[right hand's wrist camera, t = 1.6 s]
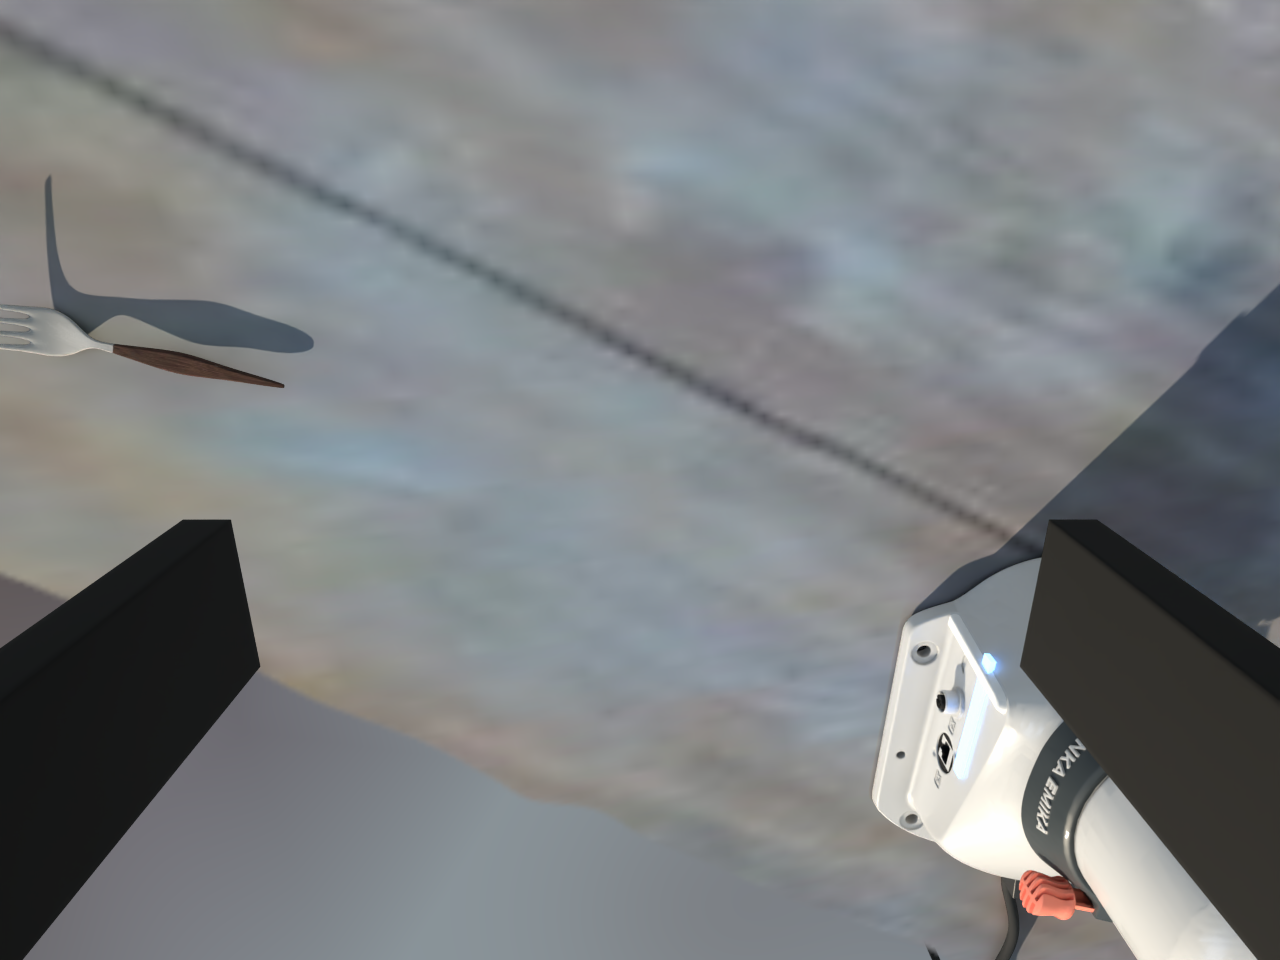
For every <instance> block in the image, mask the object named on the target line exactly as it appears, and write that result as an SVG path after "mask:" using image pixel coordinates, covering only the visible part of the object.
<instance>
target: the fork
mask: <svg viewBox="0 0 1280 960" xmlns="http://www.w3.org/2000/svg"><path fill="white" fill-rule="evenodd" d="M0 310H6V311H13V312H19V313H24V314H27V315H29V318H27V319H14V318H0V323H5V324H13V325H19V326H24V327H27V328H29V329H30V330H29V331H27V332H13V331H0V336H6V337H14V338H20V339H25V340H28V341H30V344H27V345H16V344H0V349H7V350H16V351H23V352H30V353H36V354H42V355H49V356H66V355H71V354H74V353H77V352H80V351H82V350H85V349H89V348H97V349H101V350H105V351H108V352H112V353H115V354H118V355H121V356H124V357H127V358H130V359H132V360H135V361H138V362H141V363H144V364H147V365H150V366H153V367H157V368H160V369H163V370H166V371H170V372H174V373H178V374H183V375H190V376H197V377H205V378H213V379H221V380H229V381H236V382H243V383H250V384H257V385H263V386H271V387H279V388H284V384H281V383H278V382H275V381H272V380H269V379H266V378H263V377H259V376H256V375H253V374H249V373H246V372H242V371H239V370H236V369H233V368H229V367H226V366H223V365H220V364H217V363H214V362H211V361H208V360H205V359H202V358H199V357H195V356H192V355H188V354H185V353H180V352H175V351H168V350H161V349H153V348H145V347H136V346H127V345H119V344H111V343H105V342H100V341H97V340H95V339H93V338H92V337H90V336H89V335H88V334H86V333H85V332H84V331H83V330H82V329H81V328H80V327H79V326H78V325H77V324H76V323H75V322H74V321H73V320H71V319H70V318H69V317H68V316H66V315H64V314H63V313H61V312H59V311H56V310H53V309H49V308H43V307H29V306H15V305H1V304H0Z"/></svg>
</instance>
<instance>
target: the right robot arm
mask: <svg viewBox="0 0 1280 960" xmlns="http://www.w3.org/2000/svg"><path fill="white" fill-rule="evenodd" d="M259 667H260V662H259V657H258V652H257V647H256V642H255V637H254V633H253V628H252V623H251V618H250V613H249V608H248V603H247V598H246V593H245V588H244V583H243V578H242V573H241V568H240V563H239V558H238V553H237V548H236V543H235V538H234V533H233V528H232V523H231V520H182V521H180V522H179V523H178V524H176V525H175V526H173V527H172V528H171V529H169V530H168V531H166V532H165V533H163V534H162V535H161V536H159V537H158V538H156V539H155V540H153V541H152V542H151V543H149V544H148V545H146V546H145V547H144V548H142V549H141V550H139V551H138V552H136V553H135V554H134V555H132V556H131V557H129V558H128V559H126V560H125V561H124V562H122V563H121V564H119V565H118V566H117V567H115V568H114V569H112V570H111V571H109V572H108V573H107V574H105V575H104V576H102V577H101V578H99V579H98V580H97V581H95V582H94V583H92V584H91V585H90V586H88V587H87V588H85V589H84V590H82V591H81V592H80V593H78V594H77V595H75V596H74V597H73V598H71V599H70V600H68V601H67V602H65V603H64V604H63V605H61V606H60V607H58V608H57V609H55V610H54V611H53V612H51V613H50V614H48V615H47V616H46V617H44V618H43V619H41V620H40V621H38V622H37V623H36V624H34V625H33V626H31V627H30V628H29V629H27V630H26V631H24V632H23V633H21V634H20V635H19V636H17V637H16V638H14V639H13V640H11V641H10V642H9V643H7V644H6V645H4V646H3V647H2V648H0V960H23V959H24V957H25V956H26V955H27V954H28V953H29V951H30V950H31V949H32V948H33V946H34V945H35V944H36V943H37V941H38V940H39V939H40V938H41V936H42V935H43V934H44V933H45V932H46V930H47V929H48V928H49V927H50V925H51V924H52V923H53V922H54V920H55V919H56V918H57V917H58V915H59V914H60V913H61V912H62V911H63V909H64V908H65V907H66V906H67V904H68V903H69V902H70V901H71V899H72V898H73V897H74V896H75V894H76V893H77V892H78V891H79V890H80V888H81V887H82V886H83V885H84V883H85V882H86V881H87V880H88V878H89V877H90V876H91V875H92V874H93V872H94V871H95V870H96V869H97V867H98V866H99V865H100V864H101V862H102V861H103V860H104V859H105V857H106V856H107V855H108V854H109V853H110V851H111V850H112V849H113V848H114V846H115V845H116V844H117V843H118V841H119V840H120V839H121V838H122V837H123V835H124V834H125V833H126V832H127V830H128V829H129V828H130V827H131V825H132V824H133V823H134V822H135V820H136V819H137V818H138V817H139V815H140V814H141V813H142V812H143V811H144V809H145V808H146V807H147V806H148V804H149V803H150V802H151V801H152V799H153V798H154V797H155V796H156V795H157V793H158V792H159V791H160V790H161V788H162V787H163V786H164V785H165V783H166V782H167V781H168V780H169V779H170V777H171V776H172V775H173V774H174V772H175V771H176V770H177V769H178V767H179V766H180V765H181V764H182V763H183V761H184V760H185V759H186V758H187V756H188V755H189V754H190V753H191V751H192V750H193V749H194V748H195V746H196V745H197V744H198V743H199V742H200V740H201V739H202V738H203V737H204V735H205V734H206V733H207V732H208V730H209V729H210V728H211V727H212V725H213V724H214V723H215V722H216V720H217V719H218V718H219V717H220V716H221V714H222V713H223V712H224V711H225V709H226V708H227V707H228V706H229V705H230V703H231V702H232V701H233V700H234V698H235V697H236V696H237V695H238V693H239V692H240V691H241V690H242V688H243V687H244V686H245V685H246V684H247V682H248V681H249V680H250V679H251V677H252V676H253V675H254V674H255V672H256V671H257V670H258V669H259ZM1020 667H1021V669H1022V670H1023V671H1024V672H1025V674H1026V675H1027V676H1028V677H1029V679H1030V680H1031V681H1032V682H1033V684H1034V685H1035V686H1036V687H1037V688H1038V690H1039V691H1040V692H1041V693H1042V695H1043V696H1044V697H1045V698H1046V700H1047V701H1048V702H1049V703H1050V705H1051V706H1052V707H1053V708H1054V709H1055V711H1056V712H1057V713H1058V714H1059V716H1060V717H1061V718H1062V719H1063V721H1064V722H1065V723H1066V724H1067V725H1068V727H1069V728H1070V729H1071V730H1072V732H1073V733H1074V734H1075V735H1076V737H1077V738H1078V739H1079V740H1080V742H1081V743H1082V744H1083V745H1084V746H1085V748H1086V749H1087V750H1088V751H1089V753H1090V754H1091V755H1092V756H1093V758H1094V759H1095V760H1096V761H1097V763H1098V764H1099V765H1100V766H1101V767H1102V769H1103V770H1104V771H1105V772H1106V774H1107V775H1108V776H1109V777H1110V779H1111V780H1112V781H1113V782H1114V783H1115V785H1116V786H1117V787H1118V788H1119V790H1120V791H1121V792H1122V793H1123V795H1124V796H1125V797H1126V798H1127V800H1128V801H1129V802H1130V803H1131V804H1132V806H1133V807H1134V808H1135V809H1136V811H1137V812H1138V813H1139V814H1140V816H1141V817H1142V818H1143V819H1144V820H1145V822H1146V823H1147V824H1148V825H1149V827H1150V828H1151V829H1152V830H1153V832H1154V833H1155V834H1156V835H1157V837H1158V838H1159V839H1160V840H1161V841H1162V843H1163V844H1164V845H1165V846H1166V848H1167V849H1168V850H1169V851H1170V853H1171V854H1172V855H1173V856H1174V858H1175V859H1176V860H1177V861H1178V862H1179V864H1180V865H1181V866H1182V867H1183V869H1184V870H1185V871H1186V872H1187V874H1188V875H1189V876H1190V877H1191V878H1192V880H1193V881H1194V882H1195V883H1196V885H1197V886H1198V887H1199V888H1200V890H1201V891H1202V892H1203V893H1204V895H1205V896H1206V897H1207V898H1208V899H1209V901H1210V902H1211V903H1212V904H1213V906H1214V907H1215V908H1216V909H1217V911H1218V912H1219V913H1220V914H1221V915H1222V917H1223V918H1224V919H1225V920H1226V922H1227V923H1228V924H1229V925H1230V927H1231V928H1232V929H1233V930H1234V932H1235V933H1236V934H1237V935H1238V936H1239V938H1240V939H1241V940H1242V941H1243V943H1244V944H1245V945H1246V946H1247V948H1248V949H1249V950H1250V951H1251V953H1252V954H1253V955H1254V956H1255V957H1256V959H1257V960H1280V648H1279V647H1277V646H1276V645H1274V644H1273V643H1271V642H1270V641H1269V640H1267V639H1266V638H1264V637H1263V636H1261V635H1260V634H1259V633H1257V632H1256V631H1254V630H1253V629H1252V628H1250V627H1249V626H1247V625H1246V624H1244V623H1243V622H1242V621H1240V620H1239V619H1237V618H1236V617H1234V616H1233V615H1232V614H1230V613H1229V612H1227V611H1226V610H1225V609H1223V608H1222V607H1220V606H1219V605H1217V604H1216V603H1215V602H1213V601H1212V600H1210V599H1209V598H1207V597H1206V596H1205V595H1203V594H1202V593H1200V592H1199V591H1198V590H1196V589H1195V588H1193V587H1192V586H1190V585H1189V584H1188V583H1186V582H1185V581H1183V580H1182V579H1181V578H1179V577H1178V576H1176V575H1175V574H1173V573H1172V572H1171V571H1169V570H1168V569H1166V568H1165V567H1163V566H1162V565H1161V564H1159V563H1158V562H1156V561H1155V560H1154V559H1152V558H1151V557H1149V556H1148V555H1146V554H1145V553H1144V552H1142V551H1141V550H1139V549H1138V548H1136V547H1135V546H1134V545H1132V544H1131V543H1129V542H1128V541H1127V540H1125V539H1124V538H1122V537H1121V536H1119V535H1118V534H1117V533H1115V532H1114V531H1112V530H1111V529H1109V528H1108V527H1107V526H1105V525H1104V524H1102V523H1101V522H1100V521H1098V520H1049V523H1048V528H1047V533H1046V538H1045V543H1044V548H1043V553H1042V558H1041V563H1040V568H1039V573H1038V578H1037V583H1036V588H1035V593H1034V598H1033V603H1032V608H1031V613H1030V618H1029V623H1028V628H1027V633H1026V637H1025V642H1024V647H1023V652H1022V657H1021V662H1020Z"/></svg>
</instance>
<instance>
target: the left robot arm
mask: <svg viewBox="0 0 1280 960" xmlns="http://www.w3.org/2000/svg"><path fill="white" fill-rule="evenodd" d="M1041 558H1042V557H1041ZM1041 558H1036V559H1032V560H1028V561H1024V562H1021V563H1018V564H1016V565H1013V566H1011V567H1008V568H1006V569H1004V570H1002V571H1000V572H998V573H996V574H994V575H992V576H990V577H989V578H987V579H986V580H984V581H983V582H981V583H980V584H978V585H977V586H976V587H974V588H973V589H971V590H970V591H969V592H967V593H966V594H964V595H963V596H961V597H960V598H958V599H956V600H954V601H952V602H948V603H944V604H941V605H938V606H934V607H931V608H928V609H925V610H923V611H920V612H918V613H916V614H914V615H913V616H911V617H910V618H909V619H908V620H907V621H906V623H905V625H904V627H903V631H902V637H901V642H900V647H899V652H898V658H897V663H896V668H895V674H894V679H893V684H892V690H891V695H890V700H889V705H888V711H887V716H886V721H885V727H884V732H883V737H882V743H881V748H880V753H879V758H878V764H877V769H876V774H875V780H874V785H873V791H872V799H873V801H874V803H875V805H876V807H877V809H878V810H879V811H880V812H881V813H882V814H883V815H884V816H885V817H886V818H887V819H888V820H890V821H891V822H892V823H894V824H895V825H897V826H899V827H900V828H902V829H904V830H906V831H908V832H910V833H912V834H915V835H917V836H919V837H922V838H925V839H928V840H931V841H935V842H936V843H937V844H938V845H939V846H940V847H941V848H942V849H943V850H944V851H946V852H947V853H948V854H950V855H951V856H952V857H954V858H955V859H957V860H959V861H960V862H962V863H964V864H966V865H969V866H971V867H973V868H976V869H978V870H981V871H984V872H987V873H990V874H994V875H997V876H1001V885H1002V891H1003V895H1004V899H1005V903H1006V908H1007V913H1008V921H1009V927H1008V933H1007V937H1006V940H1005V942H1004V945H1003V947H1002V949H1001V951H1000V952H999V954H998V956H997V958H996V959H995V960H1009V959H1010V957H1011V955H1012V953H1013V951H1014V949H1015V946H1016V943H1017V940H1018V935H1019V917H1018V910H1017V905H1016V901H1015V898H1020V899H1021V900H1023V902H1022V905H1023V907H1024V908H1027V909H1026V910H1027V912H1029V913H1032V914H1033V915H1040V916H1045V915H1053V916H1055V917H1057V918H1059V919H1061V920H1067V919H1069V918H1070V917H1071V916H1072V915H1073V913H1074V911H1075V909H1078V910H1083V911H1088V912H1092V914H1093V915H1094V917H1095V918H1096V919H1099V920H1103V921H1108V922H1113V923H1114V924H1115V926H1116V927H1117V929H1118V930H1119V932H1120V934H1121V935H1122V937H1123V938H1124V940H1125V941H1126V943H1127V944H1128V946H1129V947H1130V949H1131V950H1132V952H1133V954H1134V955H1135V957H1136V958H1137V960H1257V959H1256V957H1255V956H1254V955H1253V954H1252V953H1251V951H1250V950H1249V949H1248V948H1247V946H1246V945H1245V944H1244V943H1243V941H1242V940H1241V939H1240V938H1239V936H1238V935H1237V934H1236V933H1235V932H1234V930H1233V929H1232V928H1231V927H1230V925H1229V924H1228V923H1227V922H1226V920H1225V919H1224V918H1223V917H1222V915H1221V914H1220V913H1219V912H1218V911H1217V909H1216V908H1215V907H1214V906H1213V904H1212V903H1211V902H1210V901H1209V899H1208V898H1207V897H1206V896H1205V895H1204V893H1203V892H1202V891H1201V890H1200V888H1199V887H1198V886H1197V885H1196V883H1195V882H1194V881H1193V880H1192V878H1191V877H1190V876H1189V875H1188V874H1187V872H1186V871H1185V870H1184V869H1183V867H1182V866H1181V865H1180V864H1179V862H1178V861H1177V860H1176V859H1175V858H1174V856H1173V855H1172V854H1171V853H1170V851H1169V850H1168V849H1167V848H1166V846H1165V845H1164V844H1163V843H1162V841H1161V840H1160V839H1159V838H1158V837H1157V835H1156V834H1155V833H1154V832H1153V830H1152V829H1151V828H1150V827H1149V825H1148V824H1147V823H1146V822H1145V820H1144V819H1143V818H1142V817H1141V816H1140V814H1139V813H1138V812H1137V811H1136V809H1135V808H1134V807H1133V806H1132V804H1131V803H1130V802H1129V801H1128V800H1127V798H1126V797H1125V796H1124V795H1123V793H1122V792H1121V791H1120V790H1119V788H1118V787H1117V786H1116V785H1115V783H1114V782H1113V781H1112V780H1111V779H1110V777H1109V776H1108V775H1107V774H1106V772H1105V771H1104V770H1103V769H1102V767H1101V766H1100V765H1099V764H1098V763H1097V761H1096V760H1095V759H1094V758H1093V756H1092V755H1091V754H1090V753H1089V751H1088V750H1087V749H1086V748H1085V746H1084V745H1083V744H1082V743H1081V742H1080V740H1079V739H1078V738H1077V737H1076V735H1075V734H1074V733H1073V732H1072V730H1071V729H1070V728H1069V727H1068V725H1067V724H1066V723H1065V722H1064V721H1063V719H1062V718H1061V717H1060V716H1059V714H1058V713H1057V712H1056V711H1055V709H1054V708H1053V707H1052V706H1051V705H1050V703H1049V702H1048V701H1047V700H1046V698H1045V697H1044V696H1043V695H1042V693H1041V692H1040V691H1039V690H1038V688H1037V687H1036V686H1035V685H1034V684H1033V682H1032V681H1031V680H1030V679H1029V677H1028V676H1027V675H1026V674H1025V672H1024V671H1023V670H1022V669H1021V667H1020V662H1021V657H1022V652H1023V647H1024V642H1025V637H1026V633H1027V628H1028V623H1029V618H1030V613H1031V608H1032V603H1033V598H1034V593H1035V588H1036V583H1037V578H1038V573H1039V568H1040V563H1041ZM924 645H926V648H925V649H924V650H921V651H917V650H918V648H919V647H921V646H924ZM910 814H912V815H910ZM908 815H910V816H908ZM926 948H927V947H926ZM927 950H928V952H929V955H930V957H931V959H932V960H940V958H939V955H938V953H937V952H936V951H934V950H932V949H929V948H927Z"/></svg>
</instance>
